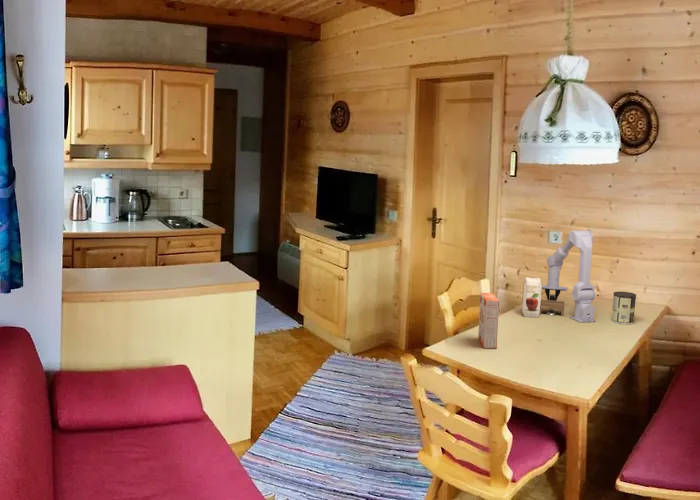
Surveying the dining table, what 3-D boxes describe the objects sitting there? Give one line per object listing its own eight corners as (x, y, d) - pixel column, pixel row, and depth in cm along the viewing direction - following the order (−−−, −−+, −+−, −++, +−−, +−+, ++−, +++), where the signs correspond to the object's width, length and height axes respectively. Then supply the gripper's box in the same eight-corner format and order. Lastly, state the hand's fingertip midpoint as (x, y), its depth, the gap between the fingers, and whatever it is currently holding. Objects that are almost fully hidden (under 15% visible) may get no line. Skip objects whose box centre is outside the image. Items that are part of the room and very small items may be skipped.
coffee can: (625, 318, 331) (628, 291, 328) (638, 324, 321) (640, 295, 318) (606, 319, 329) (609, 291, 327) (618, 324, 319) (621, 296, 317)
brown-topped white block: (548, 306, 352) (549, 294, 351) (554, 307, 351) (555, 294, 350) (548, 313, 337) (549, 300, 336) (554, 313, 337) (555, 300, 336)
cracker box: (477, 338, 290) (479, 292, 286) (491, 339, 290) (493, 292, 286) (482, 348, 276) (485, 299, 273) (497, 349, 276) (500, 300, 272)
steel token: (556, 316, 334) (556, 314, 334) (549, 316, 333) (549, 314, 333) (552, 314, 338) (552, 312, 337) (545, 314, 336) (545, 312, 336)
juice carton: (521, 313, 336) (523, 276, 333) (538, 314, 335) (541, 277, 332) (521, 316, 329) (524, 279, 326) (539, 318, 327) (542, 280, 324)
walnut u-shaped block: (539, 310, 342) (539, 299, 341) (563, 312, 339) (564, 301, 338) (538, 314, 335) (539, 302, 334) (563, 316, 331) (564, 305, 330)
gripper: (567, 278, 350) (565, 303, 352) (539, 275, 354) (537, 300, 357) (568, 280, 344) (566, 306, 346) (539, 278, 348) (537, 303, 350)
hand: (551, 303), depth 351 cm, fingers closed on brown-topped white block, 2 cm apart
